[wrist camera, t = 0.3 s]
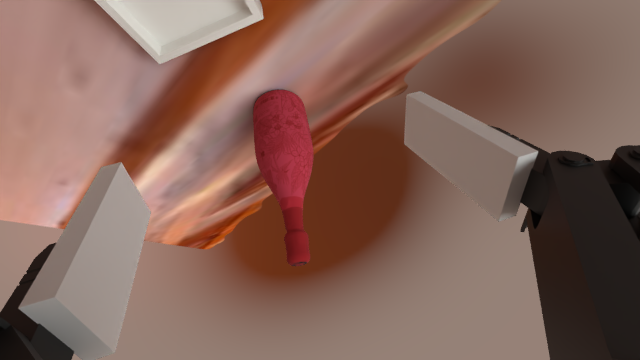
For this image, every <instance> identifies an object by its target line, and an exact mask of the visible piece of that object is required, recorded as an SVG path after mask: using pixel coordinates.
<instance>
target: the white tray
mask: <svg viewBox="0 0 640 360" xmlns="http://www.w3.org/2000/svg"><path fill="white" fill-rule="evenodd" d="M94 1H96V2H97V3H98V4H99V5H100V6H101V7H102V8H103V9H104V10H105V11H106V12H107V13H108V14H109V15H110V16H111V17H112V18H113V19H114V20H115V21H116V22H117V23H118V24H119V25H120V26H121V27H122V28H123V29H124V30H125V31H126V32H127V33H128V34H129V35H130V36H131V37H132V38H133V39H134V40H135V41H136V42H137V43H138V44H139V45H140V46H141V47H142V48H143V49H144V50H145V51H146V52H148V53H149V54H150V55H151V56H152V57H153V58H154V59H155V60H156V61H157V62H158V63H159V64H162V63H164V62H166V61H169V60H171V59H173V58H175V57H178V56H180V55H182V54H185V53H187V52H189V51H191V50H194V49H196V48H198V47H200V46H203V45H205V44H207V43H210V42H212V41H214V40H216V39H219V38H221V37H223V36H225V35H228V34H230V33H232V32H235V31H237V30H239V29H241V28H244V27H246V26H248V25H250V24H253V23H255V22H257V21H260V20H262V19H264V18H263V10H262V5H261V3H260V1H259V0H94Z"/></svg>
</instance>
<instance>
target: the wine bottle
mask: <svg viewBox="0 0 640 360" xmlns="http://www.w3.org/2000/svg"><path fill="white" fill-rule="evenodd" d="M253 122H254V142H255V153H256V159H257V163H258V166H259V169H260V171H261V173H262V175H263V177H264V179H265V181H266V183H267V184H268V186H269V188H270V189H271V191H272V192H273V194H274V195H275V197H276V199H277V200H278V202H279V205H280V207H281V209H282V213H283V217H284V222H285V227H286V230H287V233H286V235H285V237H284V241H285V244H286V250H287V262H288V263H289V264H290V265H291V266H301V265H304V264H306V263H308V261H309V260H310V253H309V244H308V234H307V233H306V232H305V231H304V229H303V215H302V212H303V199H304V194H305V191H306V188H307V185H308V181H309V178H310V174H311V170H312V165H313V146H312V139H311V134H310V129H309V124H308V120H307V115H306V111H305V107H304V104H303V102H302V100H301V99H300V98H299V97H298V96H297V95H296V94H294V93H292V92H290V91H286V90H273V91H269V92H267V93H265V94H263V95H262V96H260V97H259V98H258V99H257V101H256V102H255V105H254V110H253Z"/></svg>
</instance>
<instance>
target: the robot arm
mask: <svg viewBox="0 0 640 360" xmlns="http://www.w3.org/2000/svg"><path fill="white" fill-rule="evenodd" d="M404 144H405V145H406V146H407V147H409V148H410V149H411V150H412V151H413V152H415V153H416V154H417V155H418V156H420V157H421V158H422V159H423V160H424V161H426V162H427V163H428V164H429V165H430V166H432V167H433V168H434V169H436V170H437V171H438V172H439V173H441V174H442V175H443V176H444V177H445V178H446V179H448V180H449V181H450V182H451V183H452V184H454V185H455V186H456V187H457V188H458V189H460V190H461V191H462V192H463V193H464V194H466V195H467V196H468V197H469V198H471V199H472V200H473V201H474V202H475V203H477V204H478V205H479V206H480V207H481V208H483V209H484V210H485V211H486V212H488V213H489V214H490V215H491V216H493V217H494V218H495V219H496V220H497V221H502V220H504V219H507V218H510V217H513V216H516V214H517V211H518V208H519V205H520V203H523V204H524V205H525V206H527V207H528V211H527V214H526V216H525V219H524V222H523V224H522V227H521V232H524V231H525V228H526V227H528V231H529V237H530V243H531V249H532V255H533V261H534V266H535V272H536V278H537V284H538V290H539V296H540V301H541V307H542V314H543V320H544V326H545V331H546V337H547V343H548V349H549V355H550V360H640V145H638V146H630V145H628V146H621V147H619V148H617V149H616V151H615V153H614V155H613V157H612V159H611V160H602V161H595V160H594V159H593V158H591V157H589V156H587V155H584V154H581V153H578V152H572V151H556V152H552V153H551V154H550V153H548V152H546V151H544V150H542V149H540V148H538V147H536V146H534V145H532V144H530V143H528V142H526V141H524V140H522V139H519V138H518V137H516V136H514V135H510V133H508V132H506V131H504V130H502V129H500V128H496V127H493V126H489V125H486V124H484V123H482V122H480V121H478V120H476V119H474V118H472V117H470V116H468V115H466V114H464V113H463V112H461V111H459V110H457V109H454V108H453V107H451V106H449V105H447V104H445V103H443V102H441V101H439V100H437V99H435V98H433V97H431V96H429V95H427V94H425V93H423V92H421V91H419V92H415V93H411V94H407V98H406V118H405V140H404ZM150 214H151V211H150V210H149V208H148V206H147V205H146V203H145V201H144V200H143V198H142V196H141V195H140V193H139V191H138V189H137V188H136V186H135V184H134V183H133V181H132V179H131V178H130V176H129V174H128V173H127V171H126V169H125V168H124V166H123V164H122V163H121V162H120V163H116V164H112V165H108V166H104V167H101V168H100V170H99V172H98V174H97V175H96V177H95V179H94V180H93V182H92V184H91V185H90V187H89V189H88V190H87V192H86V194H85V196H84V197H83V199H82V201H81V202H80V204H79V206H78V207H77V209H76V211H75V213H74V214H73V216H72V218H71V219H70V221H69V223H68V224H67V226H66V228H65V229H64V231H63V233H62V235H61V236H60V238H59V240H58V241H57V243H54V244H50V245H49V246H47V248H46V249H44V250H43V251H42V252H41V253H40V254H39V255H38V256H37V257H36V258H35V259H34V260H33V262H32V264H31V265H30V267H29V268H28V270H27V271H26V272H27V274H25V275H24V276H23V278H22V279H21V281H20V282H19V284H20V285H19V286H17V287H16V289H15V290H14V292H13V294H12V295H11V297H10V298H9V300H8V301H7V303H6V305H5V306H4V308H3V309H2V311H1V312H0V360H71V359H72V356H73V354H76V355H77V356H78V357H79V358H81V359H82V360H96V359H99V358H102V357H104V356H107V355H110V354H113V353H115V351H116V347H117V342H118V339H119V335H120V331H121V327H122V323H123V319H124V316H125V312H126V307H127V304H128V300H129V295H130V292H131V288H132V284H133V280H134V276H135V273H136V268H137V265H138V261H139V257H140V253H141V249H142V245H143V241H144V238H145V234H146V230H147V226H148V222H149V218H150Z"/></svg>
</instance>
